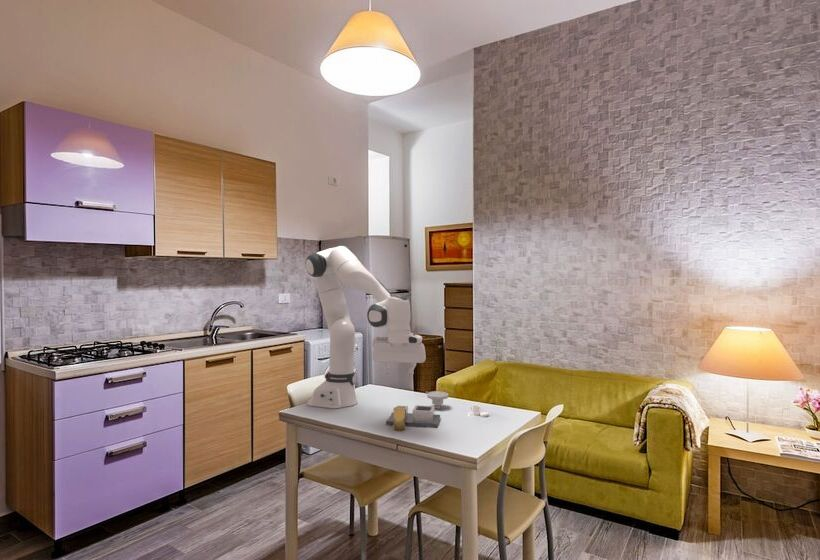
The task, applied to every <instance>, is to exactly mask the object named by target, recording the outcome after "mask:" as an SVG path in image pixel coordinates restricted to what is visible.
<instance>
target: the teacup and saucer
mask: <svg viewBox="0 0 820 560" xmlns="http://www.w3.org/2000/svg"><path fill="white" fill-rule="evenodd" d="M470 410H471V411H470V412H467V416H468V417H470V418H480V419H481V418H485V417H488V416H489V412H487V411H483V412H482V411H481V406H480V405H479V404H473V405H472V406H470ZM470 414H473V415H474V416H473V415H470Z"/></svg>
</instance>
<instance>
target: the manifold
mask: <svg viewBox="0 0 820 560" xmlns="http://www.w3.org/2000/svg"><path fill="white" fill-rule="evenodd" d="M396 407H404V408H405V427H415V428H430V429H432V428H433V429H435V428H437V429H438V426H439V425H440V424H439V423H440V420H441V414H435V411H436V410H435V409H436V408H435V405H420V404H419V405H417V404H416V405H414V407H413V409H412V413H409V406H408V405H396ZM393 425H394V411H393V412H391V413H390V415H389V416H388V418H387V419H386V420H385V426H393Z"/></svg>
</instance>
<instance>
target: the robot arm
mask: <svg viewBox="0 0 820 560" xmlns="http://www.w3.org/2000/svg"><path fill="white" fill-rule="evenodd" d="M305 268H306V270H307V273H308V274H309V275H310V276H311V277H312V278H314V279H315V285H316V290H317V293H318V297H319V300H320V304H321V308H322V311H323V314H324V318H325V322H326V325H327V329H328V332H329V371H327V373H326V374H325V375H324V378H325V380H324V381H323V382H322V383H321V384H319V385H318V386H317V387H315V389H313V393H312V397H311V398H310V399H309V400H308V401H307V404H306V405H307V406H309V407H318V408H325V409H335V410H336V409H340V408H346V407H352V406H355V405H356V404H358V400H357V396H356V389H355V388H356V387H355V383H356V375H355V374H356V373H355V366H354V364H355V360H354V359H355V345H356V344H355V343H356V329H355V325H354V324H353V323H352V321H351V316H350V313H349V309H348V303H347V299H346V297H345V293H344V290H343V286H342V284H343V285H344V286H346V287H347V288H348V289H352V290H358V291H361V292H364V293H367V294H370V295H371V296H372V297H373V298H374V299H375V300H376V301H377V302H376V303H374V304H371V305H370V306H369V308H368V309H367V312H366V317H367V322H368V324H369V325H370V326H371V327H373V328H379V329H380V328H387V333H386V335H387V336H381V337H380V336H377V337H375V338H374V339H373V340H372V343H371V344H372V347H373V348H372V349H373V350H372V360H373V361H374V362H376V363H377V362H379V363H381V367H383V369H384V374H385V375H386V374H387V375H389V374H390V368H388V367H387V365H386V364H387V363H411V366H412V367H411V368H409V370H408V374H409V375H411V376H413V375H414V374H415V372H414V370H415V368H416V366H417V364H424V363H425V361H426V359H427V358H426V357H427V356H426V348H425V347H426V346H425V345H424V343H423V342H422V341H423V337H422V335H419V334H416V333H413V332H411V326H410V322H411V304H410V300H409V298H408V297H407V296H405V295H402V294H392V293H391V292H390V291H389V290H388V289H387V287H385V285H384V284H383V283H382V282H381V281H380V280H379V279H378V278H377V277H375V275H373V273H371V272H370V271H369V270H368V269H367V268H366V267H365V266H364V265H363V263H361V261H360V260H359V259H358V257H357V256H356V254H354V252H353V250H352V249H351V248H350V247H349V246H347V245H339V246H335V247H330V248H326V249H323V250H320V251H318V252H313V253H310V255H309V254H308V255H307V257H306V259H305Z"/></svg>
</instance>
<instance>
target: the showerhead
mask: <svg viewBox="0 0 820 560" xmlns="http://www.w3.org/2000/svg"><path fill="white" fill-rule="evenodd" d="M425 394H426V397H427V398H428V399H430V400H431V403H432V405H433V406H435V409H436V408H437V409H438V410H439V409H441V406H442V405H443V404H444V400H446V399H448V398H449V393H447V392H446V391H443V390H439V391H438V390H434V391H433V390H432V391H425Z"/></svg>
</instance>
